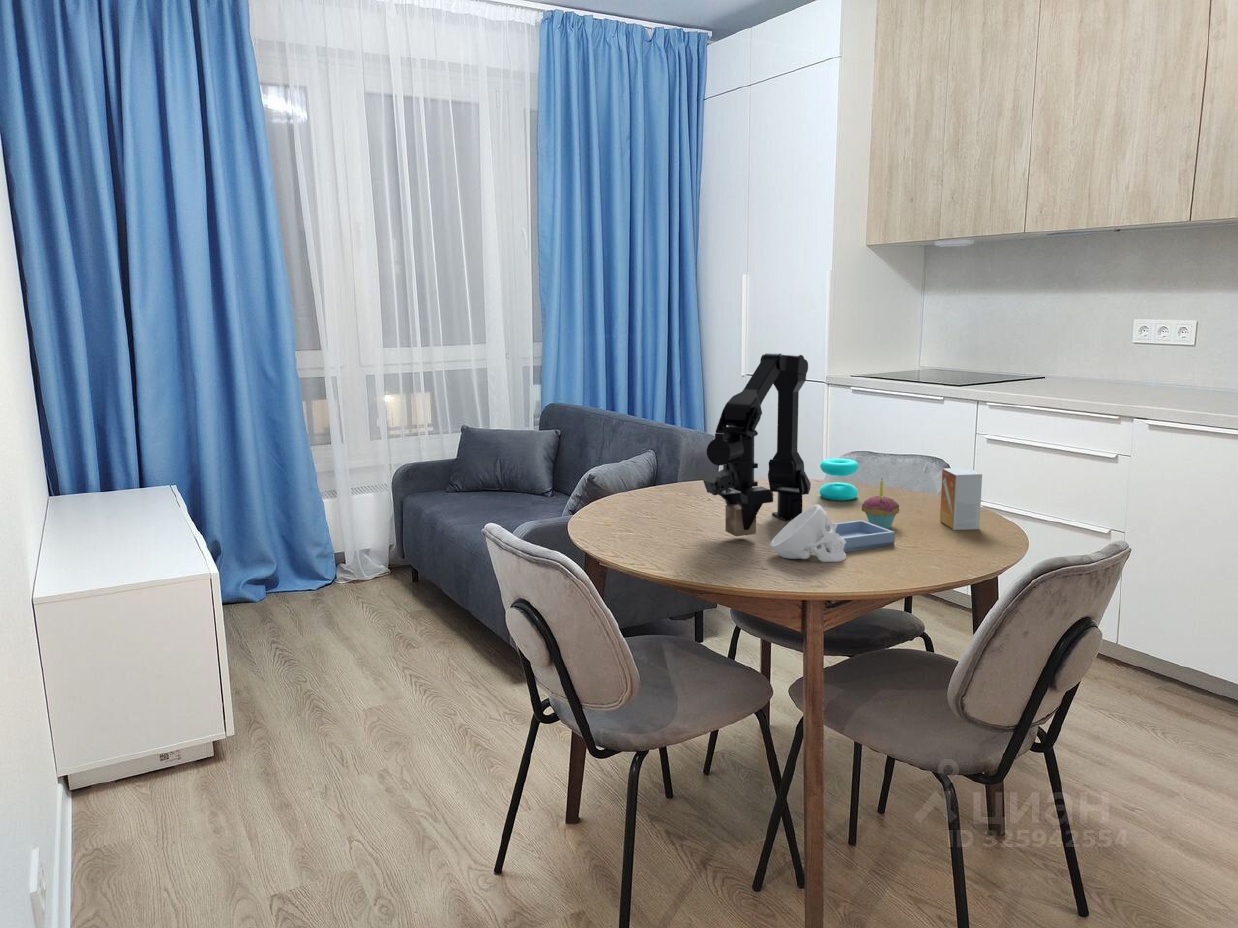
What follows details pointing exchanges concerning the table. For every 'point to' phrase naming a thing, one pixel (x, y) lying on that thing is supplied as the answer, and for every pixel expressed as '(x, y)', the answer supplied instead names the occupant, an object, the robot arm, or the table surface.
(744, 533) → the block
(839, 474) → the donuts
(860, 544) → the tray
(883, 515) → the cupcake
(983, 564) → the table surface
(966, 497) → the small box
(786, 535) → the skull bowl
